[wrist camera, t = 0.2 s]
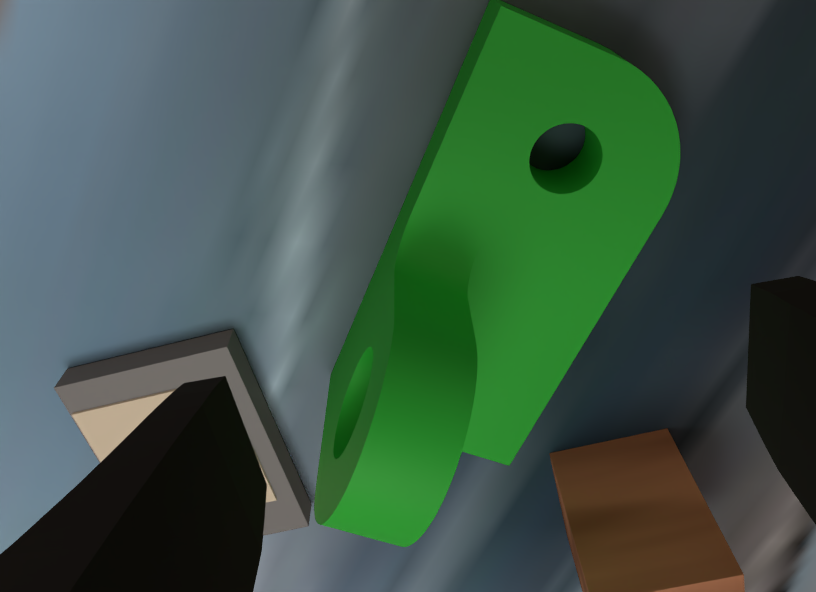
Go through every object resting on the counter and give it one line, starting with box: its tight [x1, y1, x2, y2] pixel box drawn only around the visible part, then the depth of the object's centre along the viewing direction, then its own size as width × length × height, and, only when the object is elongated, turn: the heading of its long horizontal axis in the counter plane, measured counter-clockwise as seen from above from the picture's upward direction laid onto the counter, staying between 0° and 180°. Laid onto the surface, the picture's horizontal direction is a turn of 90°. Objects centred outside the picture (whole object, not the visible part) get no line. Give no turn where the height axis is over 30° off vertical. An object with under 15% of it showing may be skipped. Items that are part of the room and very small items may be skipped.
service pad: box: [54, 329, 311, 535], centre depth 23 cm, size 8×6×1 cm
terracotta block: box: [549, 429, 745, 592], centre depth 23 cm, size 4×4×6 cm
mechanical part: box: [314, 0, 680, 547], centre depth 17 cm, size 12×6×8 cm, turn 158°
